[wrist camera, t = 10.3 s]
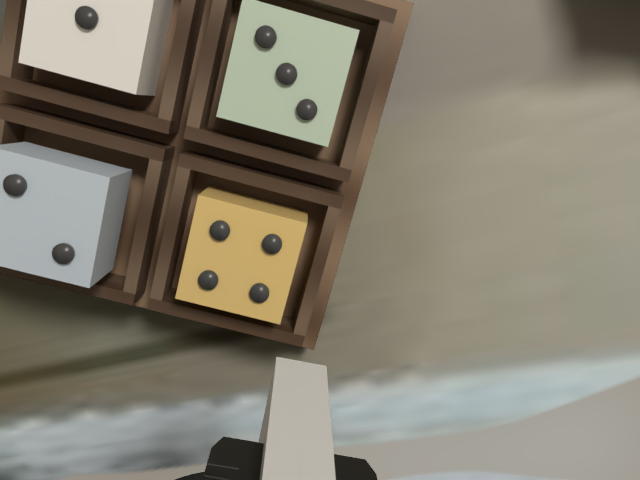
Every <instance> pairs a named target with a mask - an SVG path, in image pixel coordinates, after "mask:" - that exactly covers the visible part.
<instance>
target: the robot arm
mask: <svg viewBox="0 0 640 480" xmlns="http://www.w3.org/2000/svg"><path fill="white" fill-rule="evenodd" d="M176 480H377V476H376V473H375V472H374V471H373V469H372V468H371V467H370V465H369V464H368V463H367V461H366V460H364V459H359V458H353V457H347V456H341V455H336V454H334V452H333V440H332V428H331V416H330V404H329V392H328V380H327V368H326V366H324V365H318V364H313V363H307V362H302V361H296V360H291V359H286V358H280V357H276V361H275V366H274V371H273V376H272V381H271V385H270V390H269V395H268V400H267V405H266V409H265V414H264V419H263V424H262V429H261V433H260V438H259V443H257V442H252V441H246V440H240V439H234V438H228V437H223V438H222V439H220V440H219V441H218V442H217V443H216V444H215V445H214V446H213V447H212V448H211V452H210V455H209V459H208V462H207V466H206V469H205V472H201V473H197V474H191V475H188V476H184V477H181V478H178V479H176Z"/></svg>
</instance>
